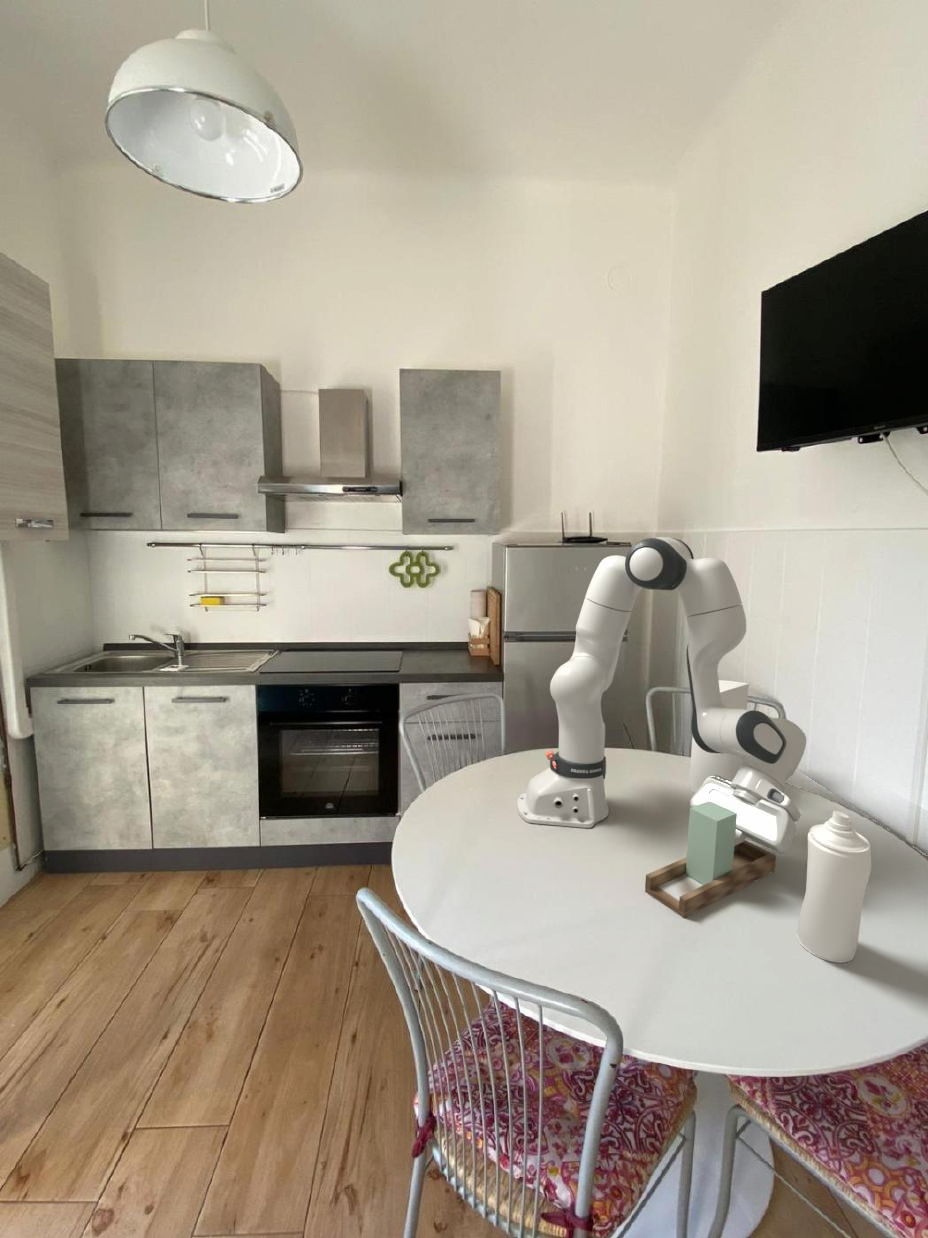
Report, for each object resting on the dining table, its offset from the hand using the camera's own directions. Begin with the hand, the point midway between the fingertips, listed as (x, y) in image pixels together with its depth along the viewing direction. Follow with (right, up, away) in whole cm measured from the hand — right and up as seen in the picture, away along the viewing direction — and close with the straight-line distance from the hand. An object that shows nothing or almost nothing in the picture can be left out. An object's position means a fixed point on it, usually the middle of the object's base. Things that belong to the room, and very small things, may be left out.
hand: (721, 848), depth 116 cm
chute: (-2, -6, 0) cm, 7 cm away
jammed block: (-3, -5, -1) cm, 6 cm away
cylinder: (+18, 0, +40) cm, 44 cm away
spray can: (+9, -10, -19) cm, 23 cm away
